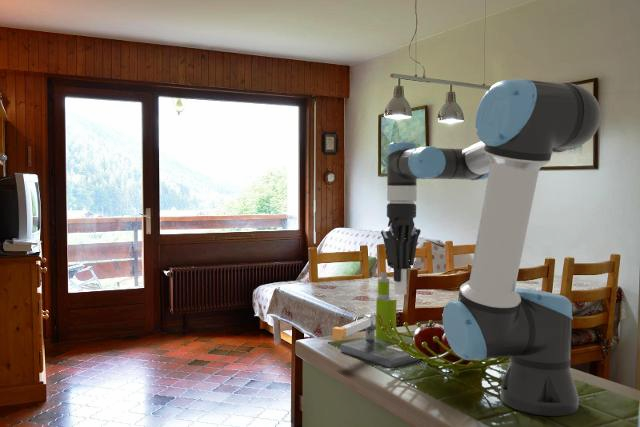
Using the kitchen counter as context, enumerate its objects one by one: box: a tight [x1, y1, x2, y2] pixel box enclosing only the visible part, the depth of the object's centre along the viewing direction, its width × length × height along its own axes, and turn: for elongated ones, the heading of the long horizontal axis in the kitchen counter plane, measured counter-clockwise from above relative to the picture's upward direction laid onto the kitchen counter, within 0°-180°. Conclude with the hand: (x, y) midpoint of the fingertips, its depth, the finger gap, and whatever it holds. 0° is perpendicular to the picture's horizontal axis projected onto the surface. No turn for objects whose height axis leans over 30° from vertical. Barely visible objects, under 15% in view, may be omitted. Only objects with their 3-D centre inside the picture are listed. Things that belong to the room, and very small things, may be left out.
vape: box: [375, 271, 397, 344], centre depth 167 cm, size 4×6×20 cm, turn 48°
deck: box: [340, 329, 419, 369], centre depth 154 cm, size 18×12×5 cm, turn 40°
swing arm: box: [332, 313, 376, 341], centre depth 154 cm, size 20×3×4 cm, turn 148°
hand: (400, 293), depth 152 cm, fingers closed
